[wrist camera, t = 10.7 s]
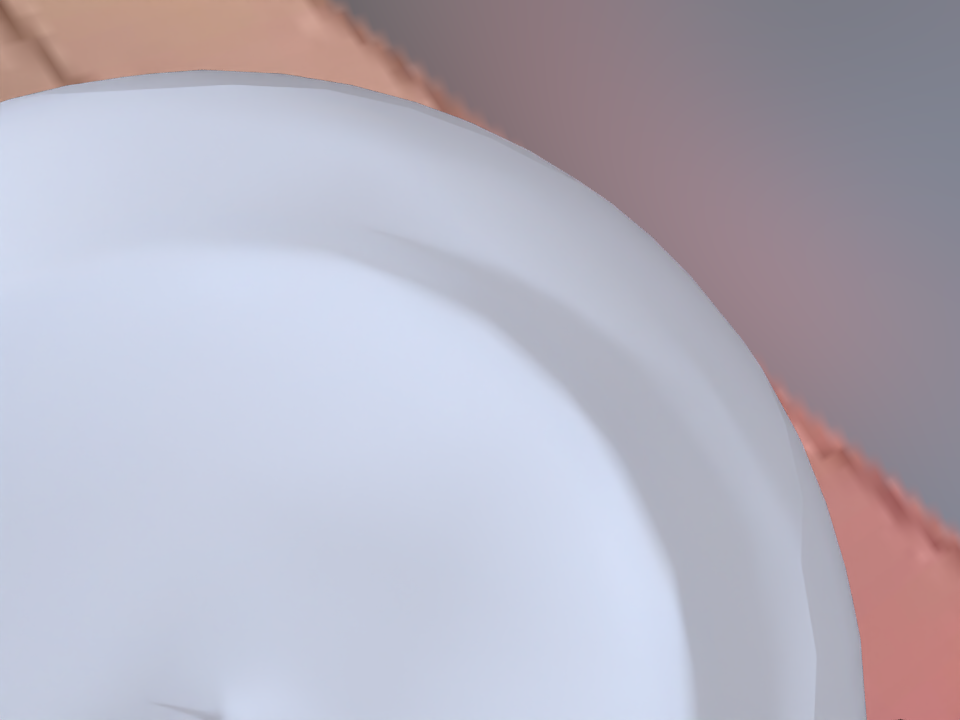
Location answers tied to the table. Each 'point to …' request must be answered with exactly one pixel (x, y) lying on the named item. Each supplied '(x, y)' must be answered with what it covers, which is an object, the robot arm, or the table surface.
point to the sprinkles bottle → (378, 431)
